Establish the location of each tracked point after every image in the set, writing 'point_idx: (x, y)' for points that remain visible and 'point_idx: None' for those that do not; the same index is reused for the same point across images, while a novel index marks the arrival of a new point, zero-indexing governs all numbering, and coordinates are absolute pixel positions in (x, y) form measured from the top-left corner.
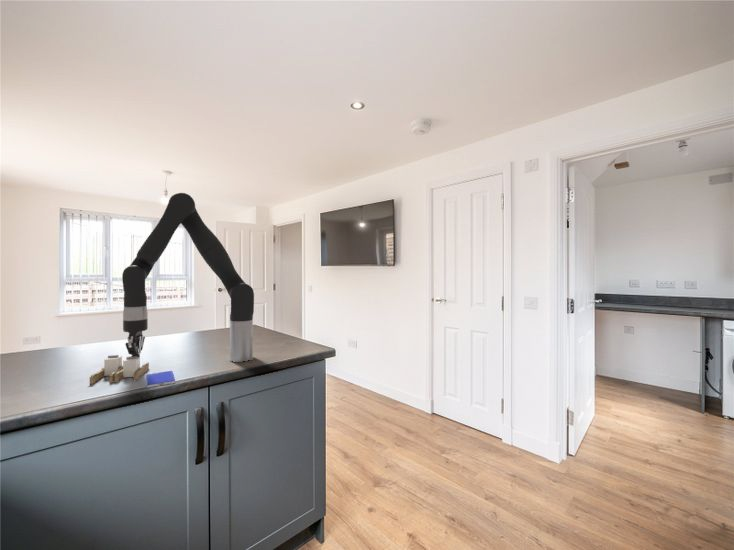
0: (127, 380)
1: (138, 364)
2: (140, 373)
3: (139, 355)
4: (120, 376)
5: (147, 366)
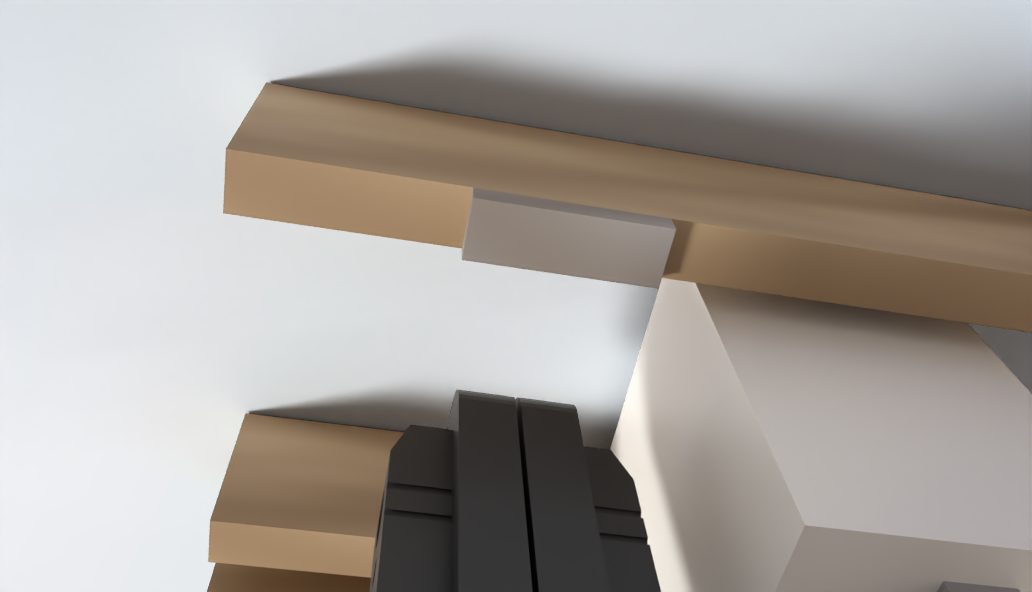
0: (1028, 381)
1: (870, 397)
2: (962, 226)
3: (501, 566)
4: None
5: (381, 138)
